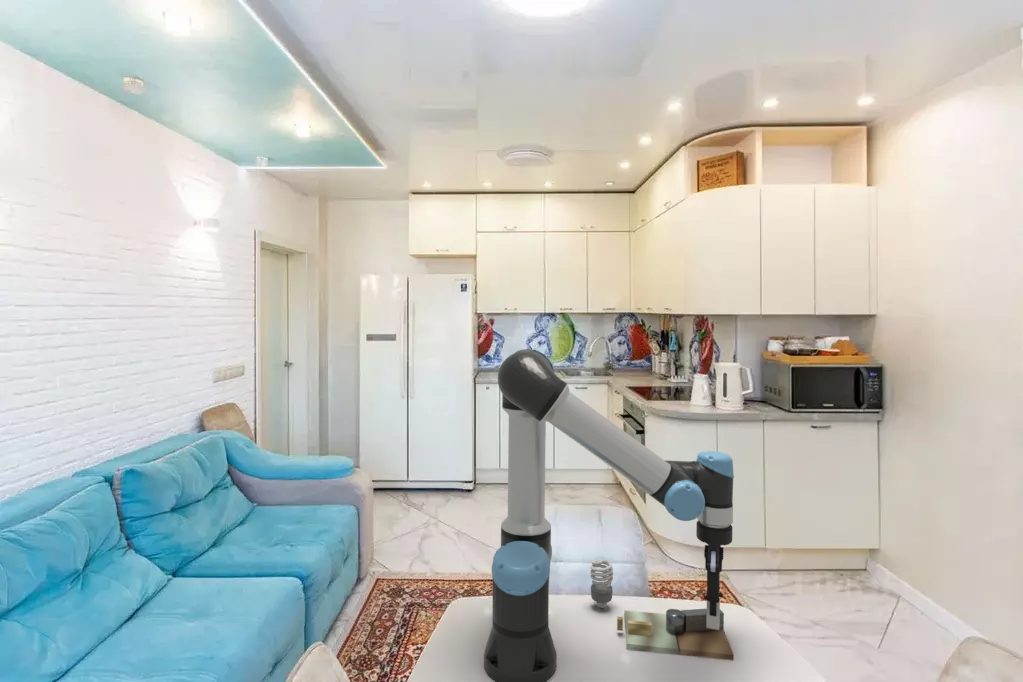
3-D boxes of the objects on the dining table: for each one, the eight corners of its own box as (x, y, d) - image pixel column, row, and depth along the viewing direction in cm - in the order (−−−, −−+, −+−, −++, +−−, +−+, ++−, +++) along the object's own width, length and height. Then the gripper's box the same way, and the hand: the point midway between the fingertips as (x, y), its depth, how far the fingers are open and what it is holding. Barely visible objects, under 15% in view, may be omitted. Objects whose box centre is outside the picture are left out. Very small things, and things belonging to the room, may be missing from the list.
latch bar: (670, 635, 120) (670, 618, 120) (663, 625, 124) (663, 609, 124) (725, 631, 121) (725, 615, 121) (716, 622, 125) (716, 605, 125)
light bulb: (612, 602, 137) (612, 556, 136) (613, 614, 131) (614, 565, 131) (589, 601, 137) (590, 554, 137) (590, 612, 132) (590, 564, 131)
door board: (617, 648, 117) (617, 631, 117) (616, 614, 131) (616, 599, 131) (733, 660, 113) (733, 642, 113) (719, 624, 127) (719, 608, 127)
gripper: (698, 511, 127) (697, 610, 128) (694, 529, 115) (693, 638, 116) (732, 515, 124) (731, 616, 125) (732, 534, 113) (730, 646, 113)
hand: (712, 627), depth 120 cm, fingers closed
